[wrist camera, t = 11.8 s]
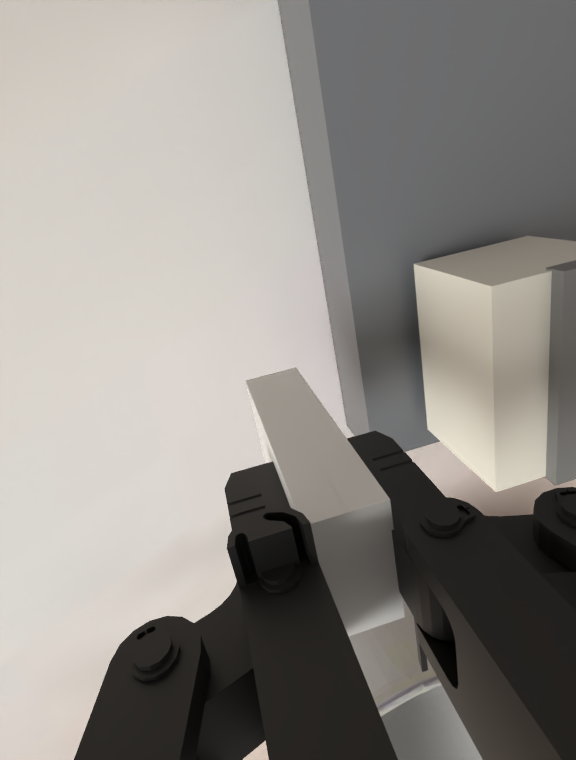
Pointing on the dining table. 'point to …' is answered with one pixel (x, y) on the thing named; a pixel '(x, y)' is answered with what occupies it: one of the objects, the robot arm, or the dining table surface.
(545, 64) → the console
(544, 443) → the block
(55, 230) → the dining table surface
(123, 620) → the dining table surface
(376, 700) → the teacup
